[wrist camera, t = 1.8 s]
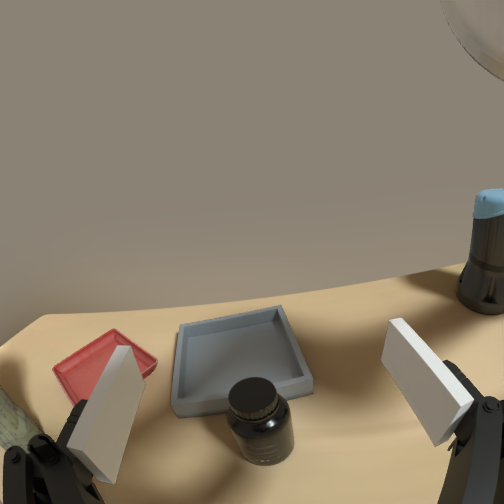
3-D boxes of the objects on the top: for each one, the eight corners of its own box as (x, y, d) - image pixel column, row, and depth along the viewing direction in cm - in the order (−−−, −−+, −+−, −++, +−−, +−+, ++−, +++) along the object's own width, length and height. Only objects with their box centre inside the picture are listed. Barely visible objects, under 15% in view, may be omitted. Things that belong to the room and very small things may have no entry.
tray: (283, 319, 54) (281, 304, 53) (313, 393, 36) (313, 378, 35) (184, 338, 53) (179, 324, 52) (178, 418, 34) (170, 404, 33)
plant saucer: (165, 372, 45) (159, 358, 44) (90, 429, 32) (80, 417, 31) (119, 338, 56) (113, 327, 54) (58, 379, 43) (50, 367, 41)
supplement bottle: (244, 425, 33) (225, 368, 28) (295, 424, 31) (289, 366, 27) (237, 466, 26) (211, 419, 22) (293, 467, 25) (286, 420, 21)
